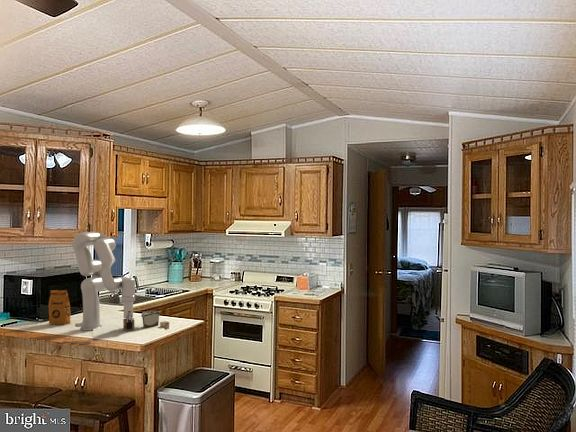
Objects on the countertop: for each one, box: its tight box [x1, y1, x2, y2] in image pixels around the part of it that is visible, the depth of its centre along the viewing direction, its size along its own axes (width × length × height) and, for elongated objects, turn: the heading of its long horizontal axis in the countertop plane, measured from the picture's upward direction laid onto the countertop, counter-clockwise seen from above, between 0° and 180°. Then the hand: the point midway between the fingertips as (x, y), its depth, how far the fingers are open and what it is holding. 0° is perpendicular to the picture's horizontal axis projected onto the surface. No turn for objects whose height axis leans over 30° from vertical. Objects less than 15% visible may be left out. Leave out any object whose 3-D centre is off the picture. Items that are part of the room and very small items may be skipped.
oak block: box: [159, 320, 170, 330], centre depth 293 cm, size 4×4×4 cm
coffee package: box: [48, 289, 71, 326], centre depth 308 cm, size 10×12×22 cm
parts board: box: [117, 326, 141, 333], centre depth 286 cm, size 12×10×1 cm
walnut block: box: [122, 317, 136, 332], centre depth 286 cm, size 6×6×6 cm
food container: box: [141, 310, 161, 329], centre depth 294 cm, size 12×6×10 cm, turn 141°
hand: (128, 326), depth 286 cm, fingers open, 9 cm apart
